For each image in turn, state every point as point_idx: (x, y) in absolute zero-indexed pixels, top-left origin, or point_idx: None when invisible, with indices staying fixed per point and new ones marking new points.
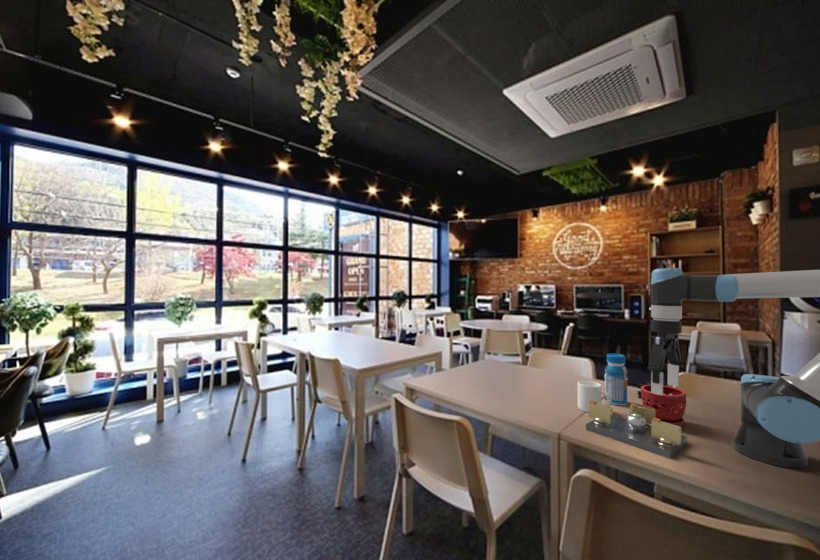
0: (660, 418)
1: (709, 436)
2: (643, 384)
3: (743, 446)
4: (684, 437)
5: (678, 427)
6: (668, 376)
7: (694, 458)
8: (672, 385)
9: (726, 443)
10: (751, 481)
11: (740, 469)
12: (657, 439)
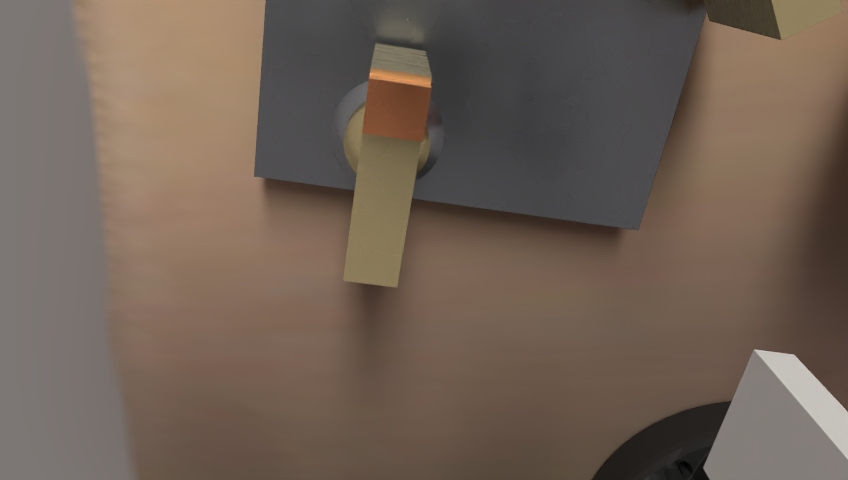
0: None
1: (838, 299)
2: None
3: (648, 469)
4: (605, 215)
5: (358, 274)
6: (836, 471)
7: None
8: (732, 412)
9: None
10: (303, 464)
11: (414, 430)
12: None
